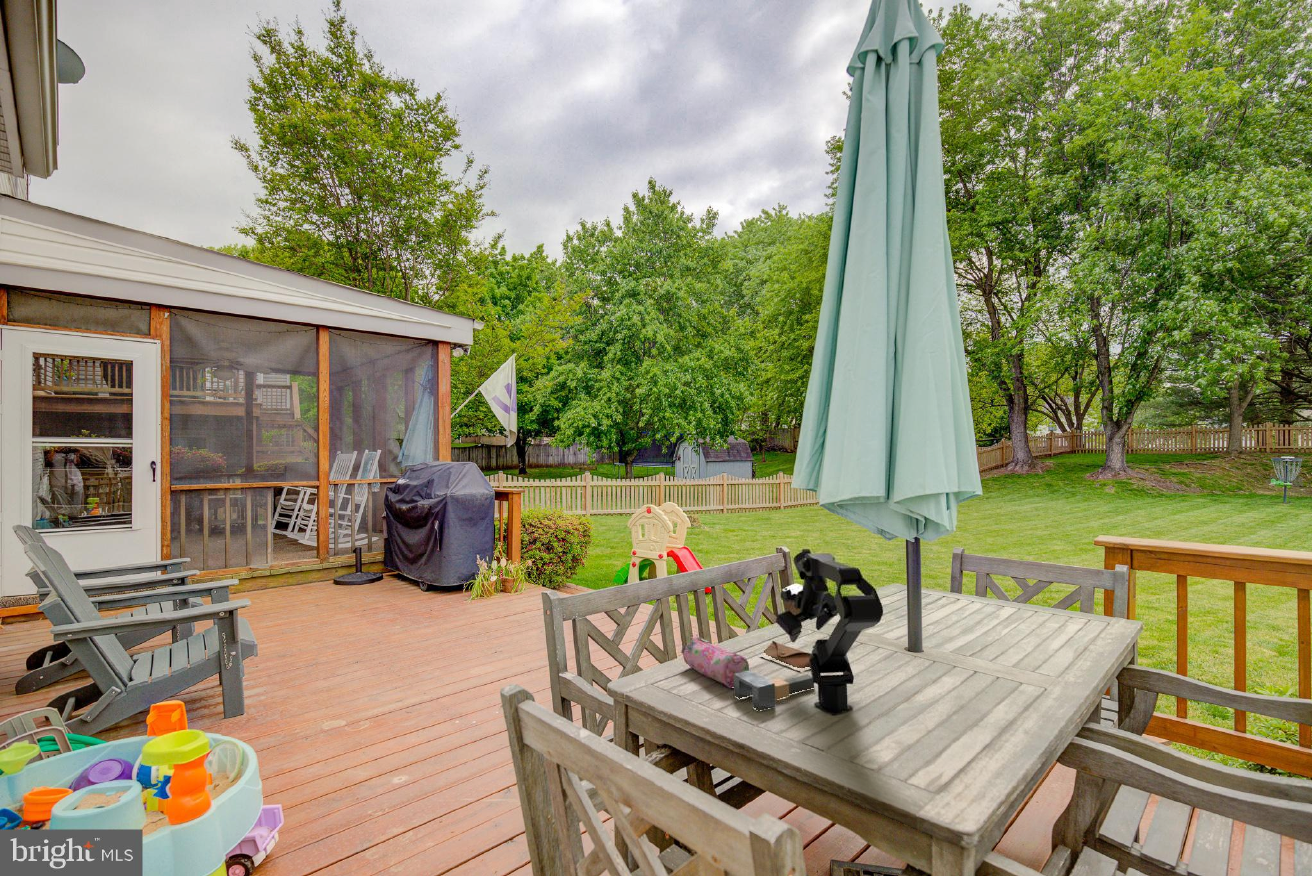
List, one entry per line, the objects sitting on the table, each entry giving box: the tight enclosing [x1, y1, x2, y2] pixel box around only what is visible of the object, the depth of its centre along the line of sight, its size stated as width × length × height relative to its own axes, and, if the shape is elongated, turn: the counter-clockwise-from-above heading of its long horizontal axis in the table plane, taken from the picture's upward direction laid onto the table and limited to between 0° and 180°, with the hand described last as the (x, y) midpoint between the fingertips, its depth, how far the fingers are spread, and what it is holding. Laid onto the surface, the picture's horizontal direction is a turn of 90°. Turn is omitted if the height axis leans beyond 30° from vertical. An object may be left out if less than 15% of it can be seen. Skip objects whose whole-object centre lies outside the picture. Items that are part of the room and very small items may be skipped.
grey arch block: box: [733, 669, 776, 712], centre depth 138 cm, size 10×5×6 cm, turn 27°
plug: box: [768, 673, 815, 699], centre depth 144 cm, size 4×13×4 cm, turn 117°
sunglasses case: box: [763, 640, 812, 668], centre depth 166 cm, size 18×7×7 cm
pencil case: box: [680, 636, 750, 689], centre depth 155 cm, size 21×9×9 cm, turn 29°
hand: (805, 635), depth 154 cm, fingers open, 9 cm apart
